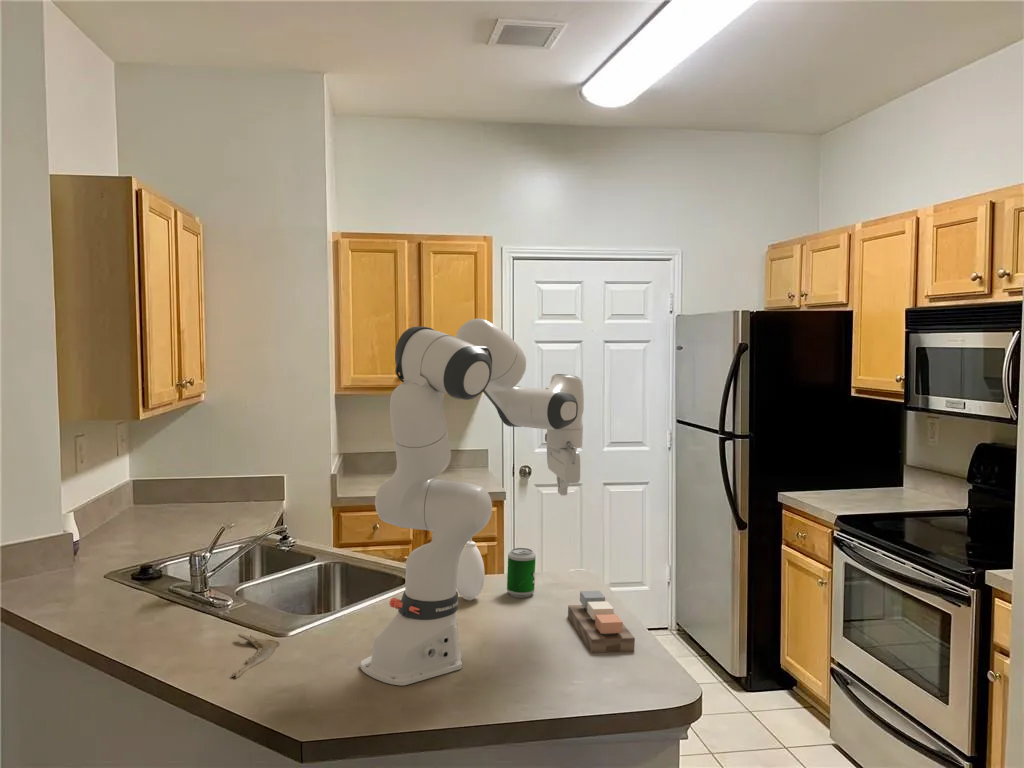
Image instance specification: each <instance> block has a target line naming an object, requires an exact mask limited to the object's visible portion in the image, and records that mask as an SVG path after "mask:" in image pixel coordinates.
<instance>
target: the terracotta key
mask: <svg viewBox="0 0 1024 768" xmlns="http://www.w3.org/2000/svg"><path fill="white" fill-rule="evenodd" d="M623 625H624V622H623V620H622V619H621V618H620V617H619V615H617V613H614V614H607V615H595V626H596V627H597V629H598V630H599V631H600V633H601V634H603V635H616V633H622V629H623Z"/></svg>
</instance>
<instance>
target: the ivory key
mask: <svg viewBox="0 0 1024 768" xmlns="http://www.w3.org/2000/svg"><path fill="white" fill-rule="evenodd" d="M587 612H588V614H589V615H590V616H591V618H592V619H593V622H594V623H595V615H607V614H613V613H614V612H615V611H614V607H613V606H612V605H611V603H610V602H609V601H607V600H605V601H601V602H588V604H587ZM614 614H615V613H614Z"/></svg>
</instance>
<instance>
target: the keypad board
mask: <svg viewBox="0 0 1024 768" xmlns="http://www.w3.org/2000/svg"><path fill="white" fill-rule="evenodd" d="M567 607H568V609H567V619H569V621H570V623H571V624H572V626H573V627H574V628H575V630H576V631H577V633H578V635H579V636H580V638H581V639H582V640H583V643H584V644H585V645H586V647H587V648H588V649H589V651H590V653H591V654H592V653H616V652H617V653H618V652H620V653H621V652H635V646H636V645H635V642H636V641H635V639H636V638H635V637H634V635H633V634H632V632H630V631H629V629H628V628H627V627H626V626H625V624H623V629H622V633H616V635H603V634H601V633H600V631H599V630H598V629H597V627H596V626H595V623H594V622H593V619H592V618H591V616H590V615H589V614H588V613H587V612H586V611H585V607H584V606H583V605H582V604H573V605H572V604H569V605H568V606H567ZM613 614H615V613H613Z"/></svg>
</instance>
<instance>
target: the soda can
mask: <svg viewBox="0 0 1024 768" xmlns="http://www.w3.org/2000/svg"><path fill="white" fill-rule="evenodd" d="M533 551H534V550H533V549H531V548H526V547H515V548H512V549H511V551H509V552H508V553H507V573H506V574H507V575H506V576H507V577H506V578H507V579H506V591H507V593H509V595H510V596H511V597H513V598H529V597H531V596H532V594H534V593H535V585H536V584H535V582H536V581H535V580H536V557H537V556H536V553H535V552H533Z"/></svg>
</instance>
